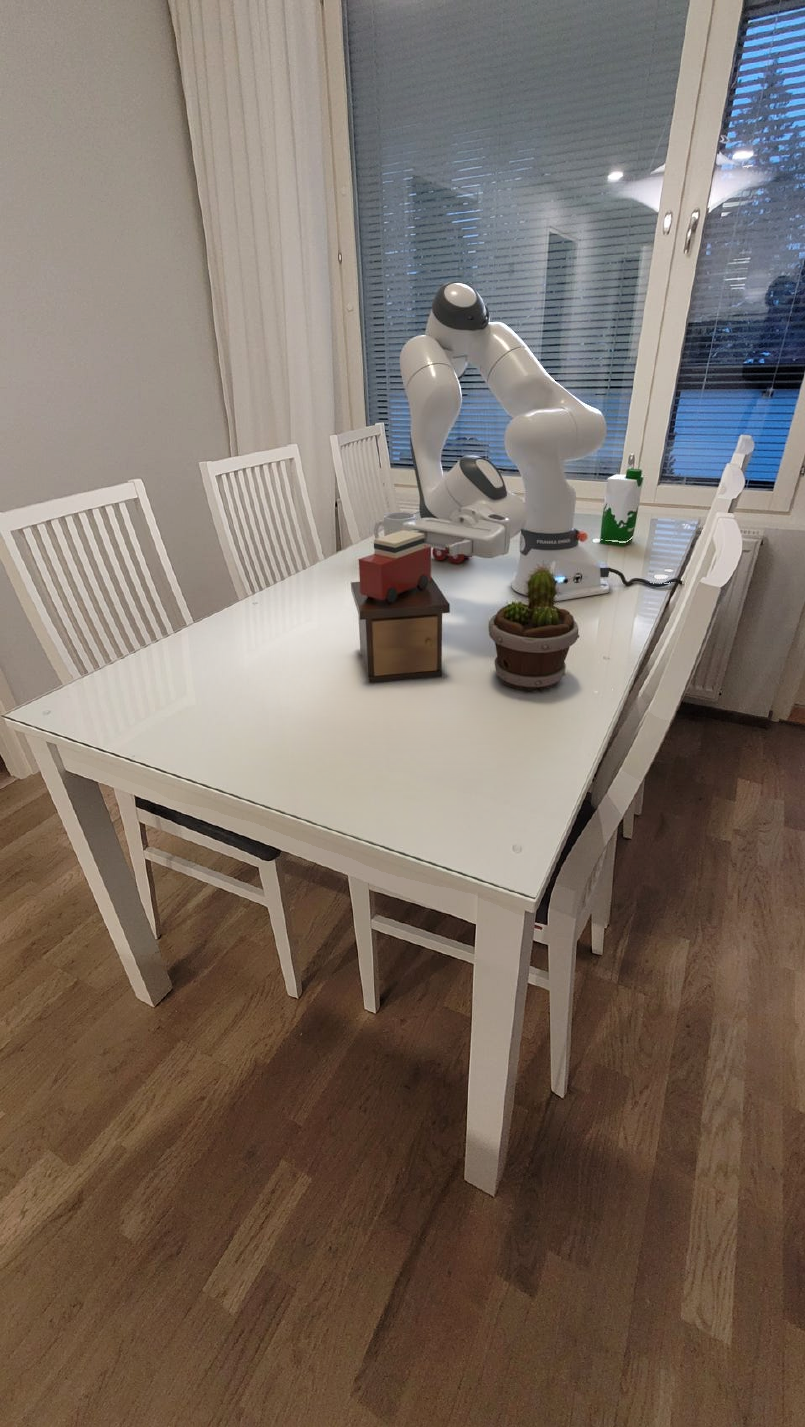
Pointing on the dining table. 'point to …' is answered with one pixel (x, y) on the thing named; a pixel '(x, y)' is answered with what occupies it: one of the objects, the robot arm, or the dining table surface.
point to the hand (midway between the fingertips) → (426, 546)
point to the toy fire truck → (441, 555)
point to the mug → (393, 522)
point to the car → (395, 566)
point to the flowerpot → (533, 636)
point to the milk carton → (621, 507)
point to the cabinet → (401, 634)
